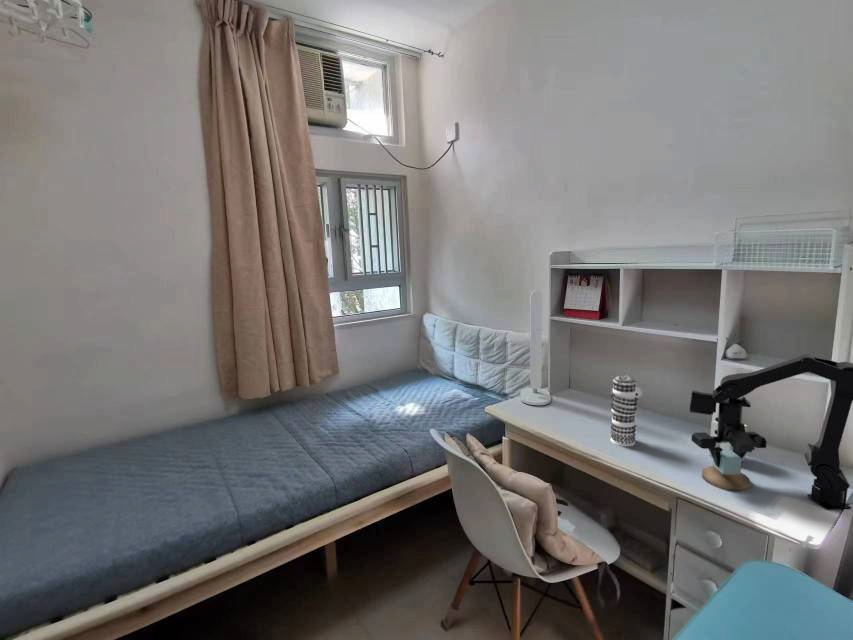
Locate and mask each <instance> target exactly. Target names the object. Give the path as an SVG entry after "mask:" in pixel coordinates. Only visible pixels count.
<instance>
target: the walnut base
mask: <svg viewBox="0 0 853 640" xmlns="http://www.w3.org/2000/svg"><path fill="white" fill-rule="evenodd" d="M701 476H702V479H703V480H704V481H705V482H706V483H707V484H710V485H711V486H712V487H715V488H719V489H722V490H725V491H732V492H743V491H747V490H749V489H750V487H751V480H750V478H749V477H748V476H747V475H746V474H745V473H743V472H741V473H740V474H723V473H722V472H720V471H719V470H718V469H717V468H716V467H714V466H713V465H712V466H711V465H710V466H706V467H704V468H703V469H702V474H701Z"/></svg>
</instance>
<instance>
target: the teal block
mask: <svg viewBox="0 0 853 640" xmlns="http://www.w3.org/2000/svg"><path fill="white" fill-rule="evenodd" d="M741 460H742V458H741V457H740V456H738V455H737V454H735V453H734V452H733V451H731V450H722V451H721V452H720V465H719V467H717V466H716V465H715V462H714V460H713V459H712V461H713V462H712V466H714V467H716V468H717V469H718V470H719V471H720V472H722V473H723V474H740V473H742V461H741Z"/></svg>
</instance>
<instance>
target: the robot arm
mask: <svg viewBox="0 0 853 640" xmlns="http://www.w3.org/2000/svg"><path fill="white" fill-rule="evenodd" d="M805 373H811V374H814V375H817V376H819V377H822V378H824V379H827V380H829V383H830V398H829V401H828V405H827V408H826V412H825V416H824V419H823V423H822V425H821V431H820V433H819V434H820V435H819V438H818V440H817V442H816V443H815V444H814V445H813V444H812V443H807V448H806V449H807V450H806V453H804V458H805V460H806V461H805V462H806V463H807V466H808V468H809V470H810V473H812V475H813V476H814V477H815V478H814V479H813V484H812V485H811V492H810V493H807V497H808V498H809V499H811V500H812V501H813V502H815V503H817V504H818V505H820V506H821V507H822V508H824V509H826V510H851V509H852V506H850V505H848V504H847V496H848V490H849V488H850V486H851V485H850V483H849V481H848V479H847V477H846V474H845V473H844V471H843V470H842V469H841V467H840V463H841V462H840V454H839V453H840V452H839V451H840V450H839V449H840V445H841V442H842V439H843V435H844V432H845V427H846V425H847V422H848V418H849V415H850V411H851V406H852V404H853V362H850V361H841V362H839V361H838V362H837V361H834V360H831V359H826V358H820V357H816V356H812V355H810V354H802V355H799V356H798V357H795V358H793V359H789V360H787V361H782V362H780V363H776V364H774V365H771V366H768V367H764V368H762V369H759V370H756V371H750V372H743V373H742V372H741V373H739V372H738V373H735V374H728V375H725V376H724V377H722V379H721V380H720V384H719V385H718V386H717V387H716V388H715V389H713V391H712V393H711V392H702V391H701V392H700V391H698V390H692V391H691V398H690V403H689V413H691V414H698V415H705V416H712V415H714V414H717V413H716V412H717V404H718V415H717V417H714V419H715V420H714V421H717V422H718V429H717V430H715V434H716V435H717V436H714V437H711V434H709V433H707V432H705V431H704V432H693V433H692V435H691V442H692V443H694V444H695V445H696V446H697V447H699V448H701V449H702V450H703V449H704V450H707V449H708V451H709V452H710V453H711V455H712V456H711V458H712V461H713V460H714V462H715V465H716V466H717V467H719V465H720V452H721V451H722V450H723V449H722V448H720V443H730V444H731V445H732V447H733V452H734V453H735V454H737V455H738V456H740V457H741V458H743V457H744V455H745V456H746V454H747V453H752V452H753V451H755V450H756V449H766V448H767V446H768V441H767V439H766V438H765V437H764V436H762V435H761V434H759V433H757V432H755V431H747V432H745V426H744V424H745V423H742V419H743V407H745V408H751V407H752V406H751V402H750V401H749V400H748V399H747V398H746V397H745V396H746V395H748V394H750V393H752V392H753V391H755V390H756V389H758V388H760V387H763V386H765V385H770V384H772V383H775V382H778V381H783V380H786V379H789V378H792V377H797V376H799V375H802V374H805Z"/></svg>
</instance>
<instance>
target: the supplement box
mask: <svg viewBox="0 0 853 640" xmlns="http://www.w3.org/2000/svg"><path fill="white" fill-rule="evenodd" d="M710 423H711V425H710V436H711V437H714V436H717V435H716V434H715V430H717V429H718V422H717V421H715V420H713V421H711V422H710ZM743 424H744V426H745V432H748V427H749V425H747V424H745V423H743ZM720 448H722V449H723V450H731V451H733V447H732V445H731V444H730V443H720ZM709 456H711V457H712V455H711V453H710V451H709ZM745 461H746V454H745V455H744V457H743V458H742V460H741V462H745Z"/></svg>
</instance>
